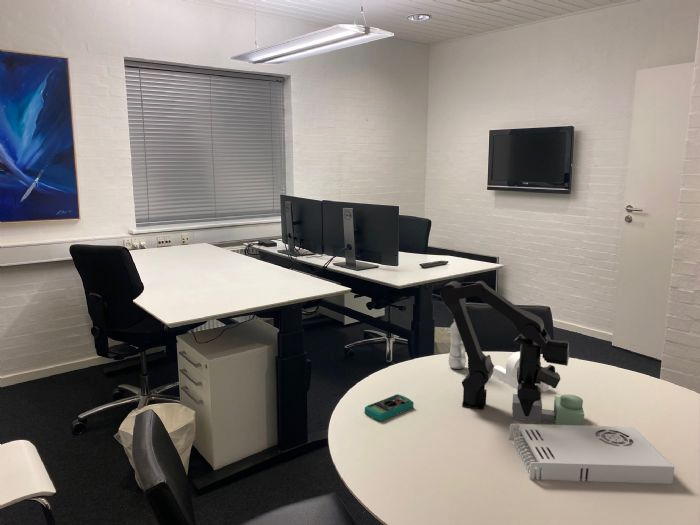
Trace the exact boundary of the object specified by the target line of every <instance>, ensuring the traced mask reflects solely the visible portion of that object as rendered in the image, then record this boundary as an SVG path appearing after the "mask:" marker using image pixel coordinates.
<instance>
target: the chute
mask: <svg viewBox="0 0 700 525" xmlns="http://www.w3.org/2000/svg"><path fill="white" fill-rule="evenodd" d="M542 402H543V401H542V399H541V400H539V401H535V402H534V403H533V406H532V409H531V411H530V414H529V416H525V415H524V412H523V409H522V407H521V404H520V401H519V399H518V397H517V393H512V402H511V403H512V405H511V410H512V412H511V413H512V414H511V419H514V420H520V421H521V420H522V421H528V422H537V423H541V422H542V420H541V416H542V409H543V403H542Z"/></svg>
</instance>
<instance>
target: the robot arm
mask: <svg viewBox="0 0 700 525" xmlns="http://www.w3.org/2000/svg"><path fill="white" fill-rule="evenodd" d="M439 296H440V298H441V300H442V302H443V304H444V306H445V307H446V309H448V310H449V312H450V313H451V315H452V317H453V321H454V320H455V323H456V326H457V328H458V331H459V334H460V337H461V339H462V342H463V345H464V348H465V354H466V356H467V370H468V374H467V375H466V376H465V377H464V379H462V381H461V384H462V388H463V392H462V393H463V395H462V403H461V406H462V407H465V408H473V409H479V410H484V409H485V405H487V392H488V390H487V389H486V384H487V383H488V382H489V380H490V379H491V377H493V376H492V374H493V368H494V366H495V365H494V364H493V362H492V357H491V355H490V354H487V355H486V354H484V352H483V351H482V349H481V347H480V343H479V341H478V337H477V335H476V332H475V330H474V328H473V326H474V325H473V324H472V321H471V318H470V315H469V313H468V310H467V298H473V297H478V298H479V299H481V300H482V301H483V302H484V303H485V304H487V305H488V306H490V307H491V308H493V309H494V310H496V312H498V313H499V314H500V315H501V316H503V317H504V318H506V319H507V320H509V322H511V324H512V326H514V328H515V329H516V331H518V332H519V333H520V334H519V335H518V336H517V337H516V338H515V339H514V340H513V343H514V344H518V345H520V348H519V349H520V350H519V352H520V358H519V367H518V368H517V381H518V384H519V385H518V388H517V389H516V394H517V397H518V399H519V401H520V404H521V407H522V409H523V412H524V415H525V416H529V414H530V411H531V409H532V406H533V403H534V402H535V401H539V400H541V401H542V391H541V389H540V387H539V386H538V385H535V384H540V383H541V382H543V383H545V384H547V385H549V387H551V388H552V389H557V387H558V385H559V383H560V381H561V375H560V374H559V372H557V371H556V367H555V365H560V366H564V367H565V366H566V367H567V366H568V364H569V359H570V358H569V357H570V343H569V342H570V341H568V340H556V339H551V335H550V334H549V333H548V332H547V330H546V328H545V324H544V320H543V319H542V317H540V316H538V315H536V314H534V313H533V312H530V311H528V310H525V309H522V308H520V307H518V306H517V305H516V304H514V303H512V302H511V301H510V300H508V299H507V298H506V297H504V296H503V295H501V294H500V293H499V292H497V291H496V290H494V289H493V288H492V287H490V286H489V285H487V283H486V282H484V281H483V280H478V281H472V282H471V281H470V282H469V281H468V282H459V281H456V280H455V281H450V282H448V283H447V284H445V285H444V286H442V287H441V289H440V291H439ZM541 355H542V359H543V361H545V362H546V363H548V364H549V363H550V364H549V365H547V366H542V363H541ZM553 364H555V365H553Z"/></svg>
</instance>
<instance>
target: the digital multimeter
mask: <svg viewBox="0 0 700 525" xmlns="http://www.w3.org/2000/svg"><path fill="white" fill-rule="evenodd" d="M414 404H415V402H414V401H413V400H412V399H410V398H408V397H406V396H404V395H401V394H398V393H397V394H394V395H392V396H389V397H387V398H384V399H382V400H379V401H377V402H373V403H370V404H368V405H366V406H365V407H364V414H365V413H366V414H365V415H367V414H368V415H370V416H371V417H370V416H369V417H370V418H372V417H373V418H372V419H374V418H375V419H374V420H376V419H377V420H376V421H378V420H379V422H384V421H386V420H388V419H390V418H392V417H394V416H393V415H395V416H397V415H398V414H397V413H399V414H401V413H400V412H402V411H404V412H406V411H405V410H407V411H409V410H408V409H410V410H412V409H414ZM411 408H412V409H411ZM402 413H403V412H402ZM396 414H397V415H396ZM368 415H367V416H368ZM391 416H392V417H391ZM389 417H390V418H389ZM387 418H388V419H387ZM385 419H386V420H385ZM383 420H384V421H383Z"/></svg>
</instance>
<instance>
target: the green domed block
mask: <svg viewBox="0 0 700 525" xmlns="http://www.w3.org/2000/svg"><path fill="white" fill-rule="evenodd" d="M583 404H584V400H583V399H582V397H581V396H577V395H574V394H569V393H568V394H566V393H565V394H562V395H560V396H554V403H553V409H546V408H542V416H541V421H546V422H554V424H555V425H581V426H585V425H584V424H585V411H584V409H583Z"/></svg>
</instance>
